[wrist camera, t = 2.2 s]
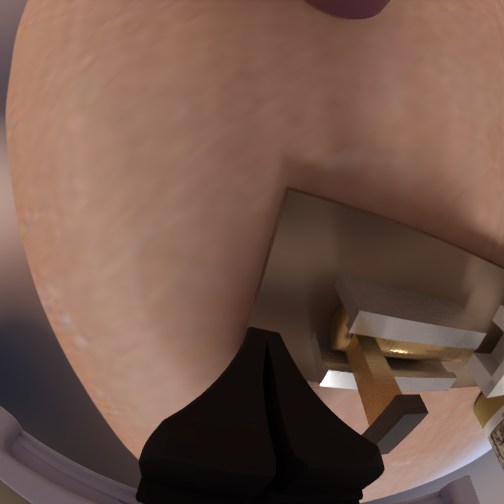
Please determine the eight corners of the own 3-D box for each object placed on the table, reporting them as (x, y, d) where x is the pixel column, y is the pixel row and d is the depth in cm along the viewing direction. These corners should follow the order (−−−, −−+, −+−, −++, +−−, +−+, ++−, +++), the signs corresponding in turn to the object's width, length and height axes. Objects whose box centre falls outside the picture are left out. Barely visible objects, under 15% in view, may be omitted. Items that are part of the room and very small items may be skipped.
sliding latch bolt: (448, 351, 16) (497, 428, 8) (325, 335, 16) (355, 456, 8) (466, 321, 15) (526, 394, 7) (343, 295, 15) (396, 415, 7)
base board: (478, 377, 20) (483, 385, 19) (237, 353, 19) (236, 367, 18) (531, 282, 16) (540, 288, 15) (286, 186, 15) (288, 190, 14)
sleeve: (426, 356, 17) (447, 390, 13) (310, 340, 17) (319, 385, 13) (456, 303, 15) (486, 333, 12) (338, 273, 15) (359, 310, 11)
